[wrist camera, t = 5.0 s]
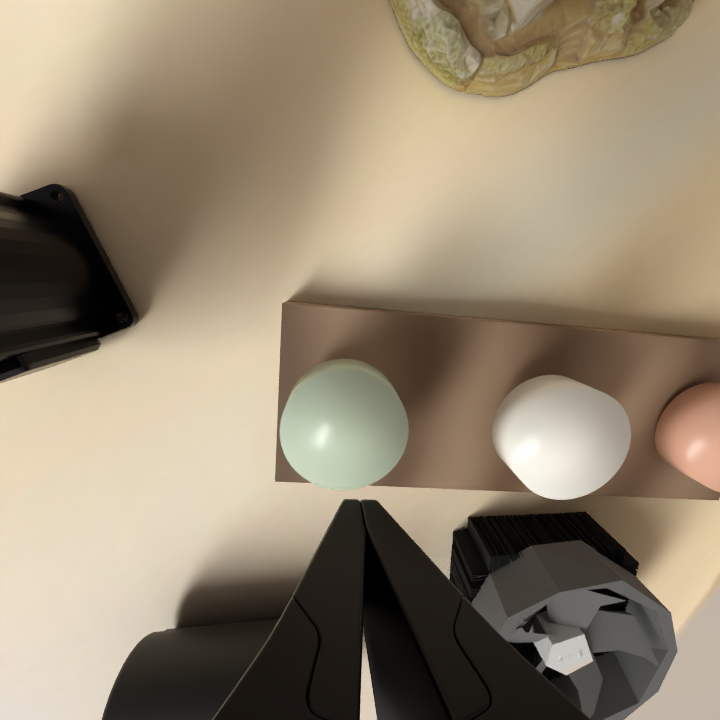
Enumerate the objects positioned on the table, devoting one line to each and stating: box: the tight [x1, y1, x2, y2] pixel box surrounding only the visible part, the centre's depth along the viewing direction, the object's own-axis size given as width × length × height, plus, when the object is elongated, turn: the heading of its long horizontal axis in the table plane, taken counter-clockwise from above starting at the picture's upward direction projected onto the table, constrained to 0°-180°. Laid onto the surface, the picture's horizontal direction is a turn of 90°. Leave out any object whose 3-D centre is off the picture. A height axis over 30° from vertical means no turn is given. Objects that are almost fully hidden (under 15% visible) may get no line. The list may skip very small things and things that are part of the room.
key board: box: [275, 301, 720, 500], centre depth 18 cm, size 25×9×2 cm, turn 85°
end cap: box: [102, 618, 280, 720], centre depth 18 cm, size 10×7×7 cm
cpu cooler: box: [449, 512, 677, 720], centre depth 19 cm, size 10×6×10 cm
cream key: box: [492, 375, 631, 500], centre depth 15 cm, size 5×5×2 cm
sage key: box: [280, 359, 409, 490], centre depth 14 cm, size 5×5×2 cm
